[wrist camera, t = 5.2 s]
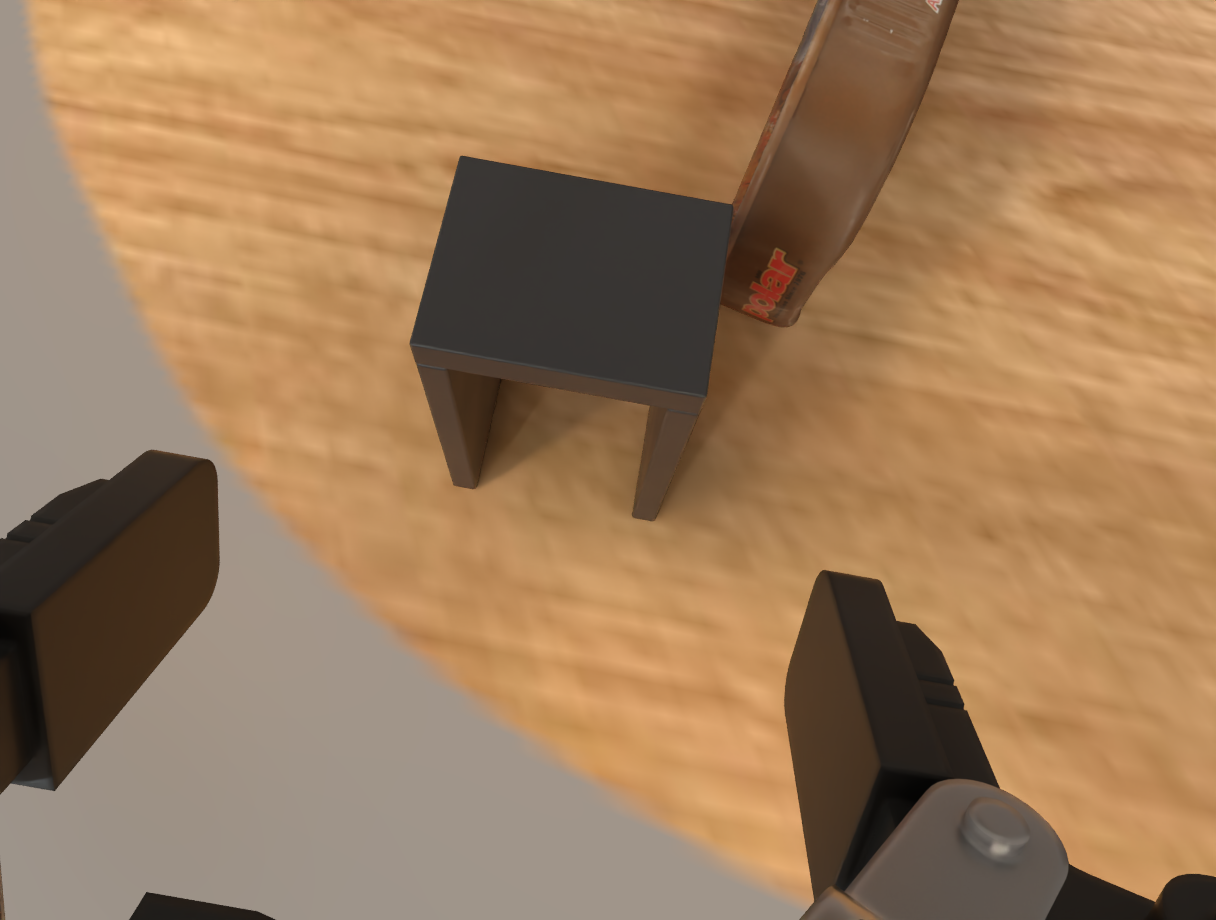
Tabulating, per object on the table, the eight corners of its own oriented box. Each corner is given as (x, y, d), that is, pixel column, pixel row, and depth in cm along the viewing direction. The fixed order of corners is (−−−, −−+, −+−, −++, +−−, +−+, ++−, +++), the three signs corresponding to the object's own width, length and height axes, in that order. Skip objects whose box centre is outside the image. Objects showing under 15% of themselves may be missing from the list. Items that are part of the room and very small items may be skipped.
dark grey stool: (676, 381, 25) (734, 203, 17) (654, 522, 23) (707, 397, 16) (485, 346, 25) (459, 154, 17) (452, 486, 23) (408, 344, 16)
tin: (831, -31, 30) (935, -325, 22) (922, 1, 30) (1060, -283, 22) (670, 352, 25) (729, 150, 17) (779, 394, 25) (890, 210, 17)
